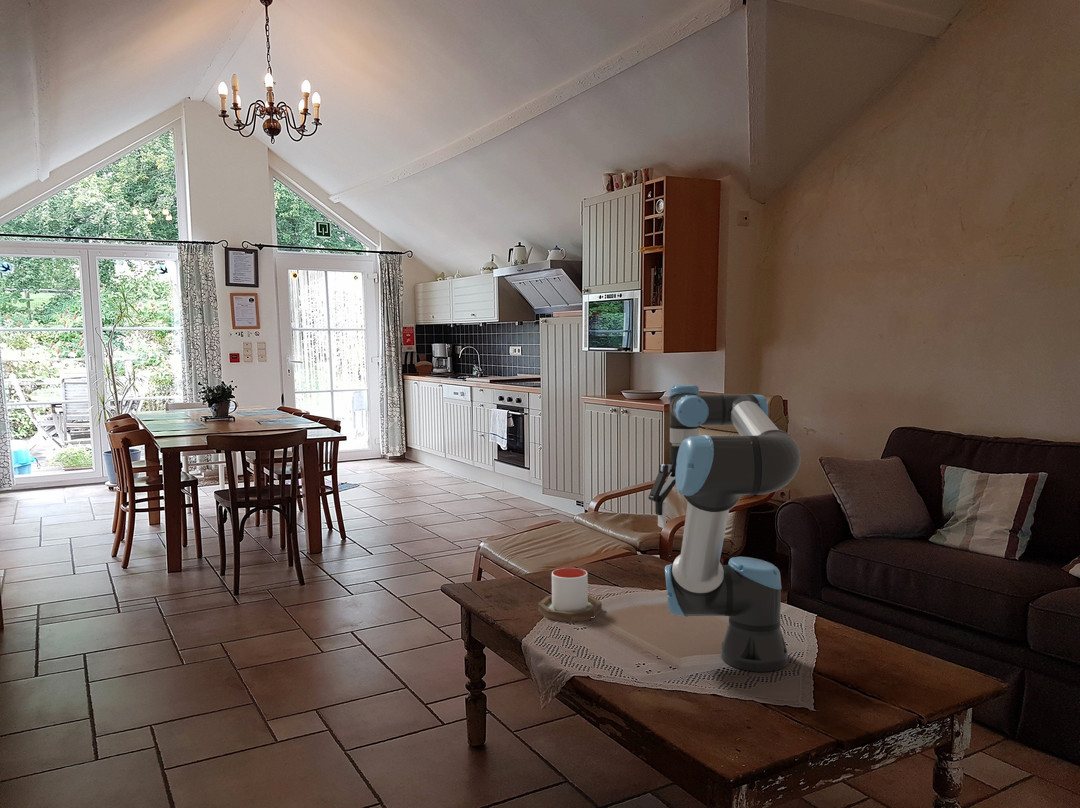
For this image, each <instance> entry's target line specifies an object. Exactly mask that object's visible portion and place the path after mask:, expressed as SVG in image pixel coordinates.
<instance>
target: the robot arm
mask: <svg viewBox="0 0 1080 808" xmlns="http://www.w3.org/2000/svg"><path fill="white" fill-rule="evenodd" d="M699 390H700V389H699V386H698V385H696V384H673V385H671V386H670V388H669V397H668V400H669V443H671V444H670V445H669V458H670V459H669V460H670V463H669V464H664V463H660V464H659V468H658V473H657V476H656V478H655V480H654V483H653V485H652V488H651V490H650V492H649V495H648V500H650V501H652V502H654V503H655V506H654V507H655V509H654V510H655V515H657V527H659V528H662V529H666V528H667V503H666V502H664V501H665V500H666V498H667V497H668V496H669V494H670V492H671V491H672V489H673V488H674V487H675V486H676V490H677V491H678V493H679V494H680V495H683V498H684V499H685V501H686V502H687V505H686V511H685V512H686V513H685V518H684V527H683V535H682V542H681V549H680V554H678V556H676V557H675V558H674V561H673V563H670V564H667V565H665V567H664V574H665V584H666V595H667V604H668V611H669V612H670V614H671V615H674V616H681V617H686V618H687V617H728V626H727V629H726V632H725V634H724V635H725V636H724V639H723V641H722V642H721V643H722V644H721V646H720V647H721V648H720V657H721V659H722V660H723V661H724V663H726V664H727V665H729V666H731V667H734V668H737V669H739V670H743V671H744V670H745V671H748V672H749V671H750V672H759V673H760V672H764V673H765V672H766V673H767V672H774V671H778V670H781V669H784V668H785V667H786V666H787V665H788V663H789V653H788V649H787V646H786V642H785V639H784V636H783V632H782V630H781V608H782V607H781V604H782V603H781V601H782V600H781V599H782V597H781V596H782V593H781V592H782V580H781V571H780V569H779V568H778V567H777V566H775V564H773V563H771V562H769V561H765V560H764V559H759V558H754V557H749V556H736V557H735V556H734V557H733V556H732V557H731V558H729V560H728V562H727V563H728V564H722V563H721V562H720V561H721V555H722V551H723V550H722V549H723V544H724V539H725V535H726V529H727V523H728V518H729V513H730V510H732V509H733V508H734V507H736V505H737V503H738V502H739V500H740V497H741V496H745V495H747V496H755V495H757V496H758V495H768V494H772V493H774V492H777V491H780V490H781V489H783V488H784V487H786V486H787V485H789V483H790V482H791V481H792V480H793V479H794V478H795V477H796V476H797V473H798V472H799V469H800V468H801V467H800V466H801V462H802V455H801V450H800V448H799V445H798V443H797V442H796V440H795V439H794V438H793V437H792V436H791V434H790V433H788V432H786V431H784V430H781V429H779V428H778V427H777V426H776V425H775V424H774V422H773V421H772V419H771V418H769V416H768V415H769V405H768V401H767V398H766V396H764V395H763V394H754V393H747V394H746V393H744V394H743V393H741V394H740V393H739V394H700V391H699ZM700 426H734V428H735V429H736V431H737V433H738V434H739V435H708V434H702V435H700ZM669 472H670V473H669ZM668 473H669V475H668Z"/></svg>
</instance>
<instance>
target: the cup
mask: <svg viewBox="0 0 1080 808" xmlns="http://www.w3.org/2000/svg"><path fill="white" fill-rule="evenodd" d="M588 575H589V574H588V571H586V570H585V569H583V568H578V567H577V568H576V567H563V568H558V569H555V570H553V571H552V572H551V595H552V605H553V607H554V608H555V609H556V610H558V611H563V612H577V611H582V610H584V609H585V608H586V607H587V605H588V595H589V593H588V591H589V589H588V588H589V587H588V585H589V580H588Z"/></svg>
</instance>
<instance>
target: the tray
mask: <svg viewBox="0 0 1080 808" xmlns="http://www.w3.org/2000/svg"><path fill="white" fill-rule="evenodd" d="M602 605H603V604H602V602H601V601H600V600H598V599H597V598H595V597H594V596H592V595H589V594H588V605H587V607H586V608H585V609H584V610H582V611H577V612H563V611H558V610H556V609H555V608H554V607H553V605H552V594H551V595H546V596H545V597H543V599H542V600H541V601H539V602H538V603H537V609H538V610H537V612H538V613H540V614H541V615H542V616H543V617H545V618H546V619H547V620H553V621H558V620H559V621H561V622H567V623H576V622H580V621H586V620H587V619H588V620H590V619H589V618H591V617H594V616H596V615H597V616H598V615H599V614H600V613H601V612H602V609H603V608H602ZM597 616H596V617H597ZM559 621H558V622H559Z"/></svg>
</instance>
